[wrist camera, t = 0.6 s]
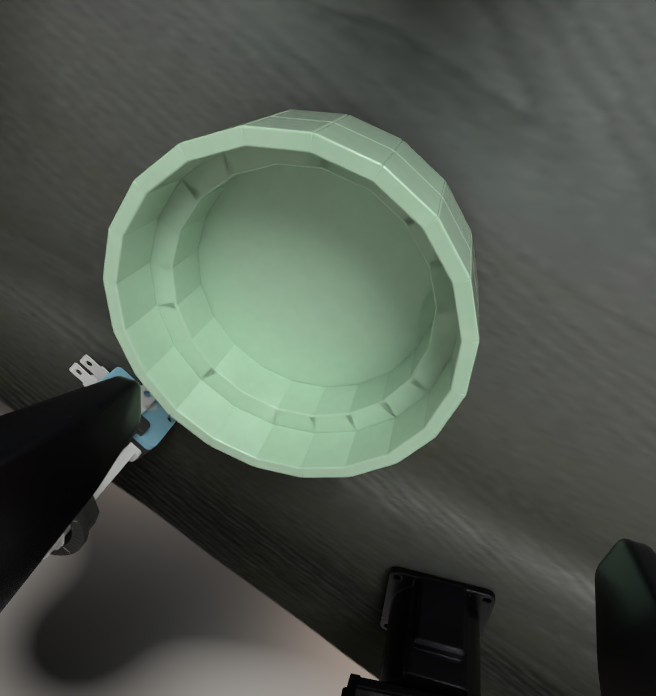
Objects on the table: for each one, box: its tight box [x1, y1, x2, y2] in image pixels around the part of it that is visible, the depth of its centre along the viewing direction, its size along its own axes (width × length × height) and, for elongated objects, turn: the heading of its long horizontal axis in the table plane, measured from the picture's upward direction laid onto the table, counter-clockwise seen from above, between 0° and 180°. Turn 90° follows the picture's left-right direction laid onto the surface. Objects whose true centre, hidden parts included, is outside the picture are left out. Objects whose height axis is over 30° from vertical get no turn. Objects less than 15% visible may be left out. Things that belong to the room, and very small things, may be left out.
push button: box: [42, 355, 176, 560], centre depth 26 cm, size 7×5×10 cm
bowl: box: [103, 110, 479, 478], centre depth 21 cm, size 14×14×6 cm
